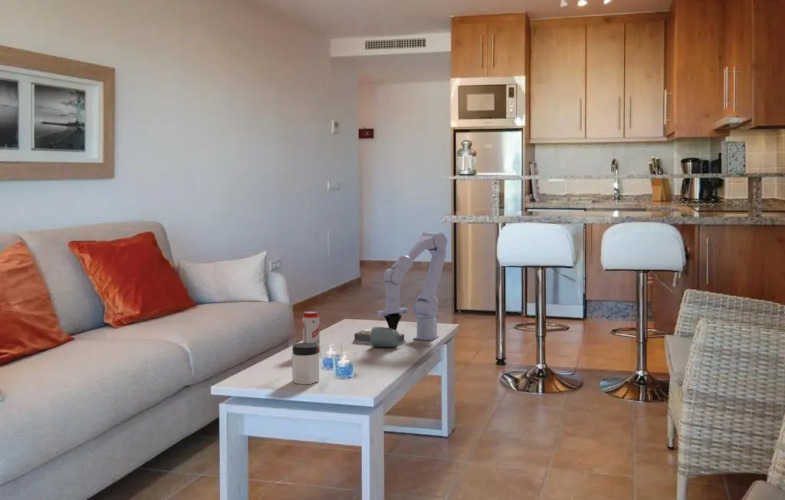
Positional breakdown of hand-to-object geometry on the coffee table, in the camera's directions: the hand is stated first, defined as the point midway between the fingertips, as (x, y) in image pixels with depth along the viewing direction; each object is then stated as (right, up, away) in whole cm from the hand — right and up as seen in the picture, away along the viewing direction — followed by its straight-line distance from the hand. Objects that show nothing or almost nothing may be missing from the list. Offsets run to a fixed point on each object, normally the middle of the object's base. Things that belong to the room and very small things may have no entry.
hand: (392, 332), depth 314 cm
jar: (-28, -10, -59) cm, 66 cm away
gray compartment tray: (-5, -4, +3) cm, 7 cm away
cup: (+2, -2, -9) cm, 9 cm away
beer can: (-31, -6, -19) cm, 36 cm away
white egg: (-11, -3, +5) cm, 12 cm away
